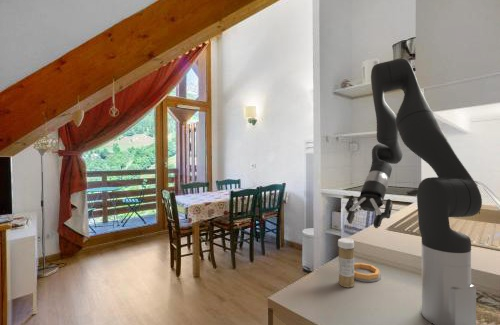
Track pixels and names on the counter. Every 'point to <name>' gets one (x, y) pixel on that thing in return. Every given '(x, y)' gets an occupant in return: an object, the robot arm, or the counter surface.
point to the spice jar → (346, 262)
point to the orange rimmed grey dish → (366, 273)
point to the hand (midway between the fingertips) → (361, 224)
